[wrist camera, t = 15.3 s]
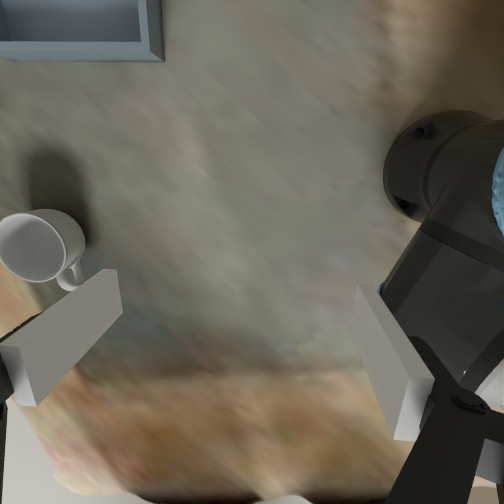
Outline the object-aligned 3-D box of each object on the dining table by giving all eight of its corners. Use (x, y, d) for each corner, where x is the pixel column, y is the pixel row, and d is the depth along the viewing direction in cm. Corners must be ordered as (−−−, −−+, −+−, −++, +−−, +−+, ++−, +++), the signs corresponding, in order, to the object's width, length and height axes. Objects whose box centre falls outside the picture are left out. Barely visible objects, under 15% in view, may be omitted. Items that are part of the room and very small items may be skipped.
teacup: (21, 217, 50) (-24, 230, 43) (71, 192, 48) (34, 202, 41) (68, 286, 54) (34, 308, 47) (116, 266, 52) (89, 287, 45)
